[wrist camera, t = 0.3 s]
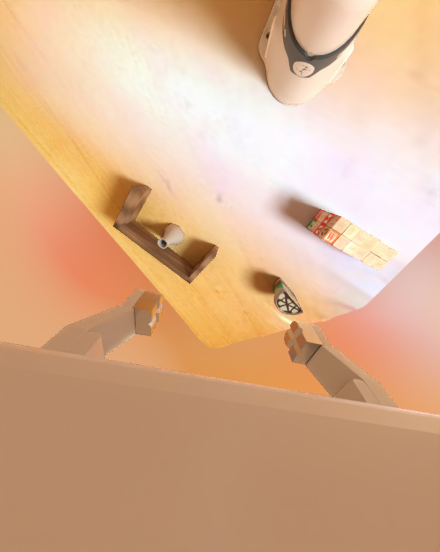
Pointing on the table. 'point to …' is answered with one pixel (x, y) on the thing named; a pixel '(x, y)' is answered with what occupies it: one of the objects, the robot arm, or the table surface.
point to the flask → (171, 236)
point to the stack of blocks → (351, 239)
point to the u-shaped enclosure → (149, 241)
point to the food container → (285, 299)
